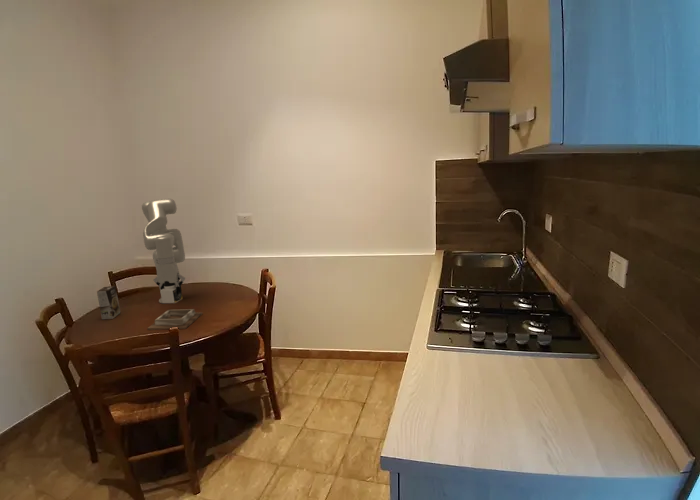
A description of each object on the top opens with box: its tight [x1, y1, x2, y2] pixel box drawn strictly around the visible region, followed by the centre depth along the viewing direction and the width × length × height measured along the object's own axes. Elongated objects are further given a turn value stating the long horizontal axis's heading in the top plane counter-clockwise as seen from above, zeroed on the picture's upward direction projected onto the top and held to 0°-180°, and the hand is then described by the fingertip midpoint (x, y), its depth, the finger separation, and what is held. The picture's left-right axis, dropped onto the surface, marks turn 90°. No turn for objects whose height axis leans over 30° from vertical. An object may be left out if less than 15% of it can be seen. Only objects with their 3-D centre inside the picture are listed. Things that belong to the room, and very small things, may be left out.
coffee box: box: [96, 285, 121, 320], centre depth 239 cm, size 9×6×16 cm
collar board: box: [147, 308, 203, 331], centre depth 226 cm, size 20×20×4 cm
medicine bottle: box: [160, 281, 183, 304], centre depth 222 cm, size 7×7×12 cm
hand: (171, 293), depth 223 cm, fingers closed on medicine bottle, 7 cm apart
